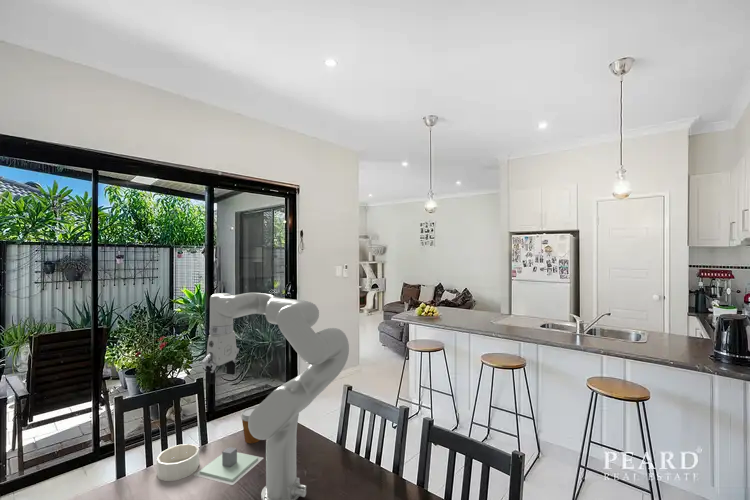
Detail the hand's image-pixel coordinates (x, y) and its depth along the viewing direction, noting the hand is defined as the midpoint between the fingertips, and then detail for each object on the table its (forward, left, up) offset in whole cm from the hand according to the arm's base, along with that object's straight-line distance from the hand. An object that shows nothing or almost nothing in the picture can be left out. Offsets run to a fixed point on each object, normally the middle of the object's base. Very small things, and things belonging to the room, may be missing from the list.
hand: (221, 378), depth 129 cm
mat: (+1, -5, -34) cm, 35 cm away
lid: (+1, -5, -34) cm, 34 cm away
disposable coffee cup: (+5, -24, -34) cm, 42 cm away
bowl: (+17, +2, -34) cm, 38 cm away
